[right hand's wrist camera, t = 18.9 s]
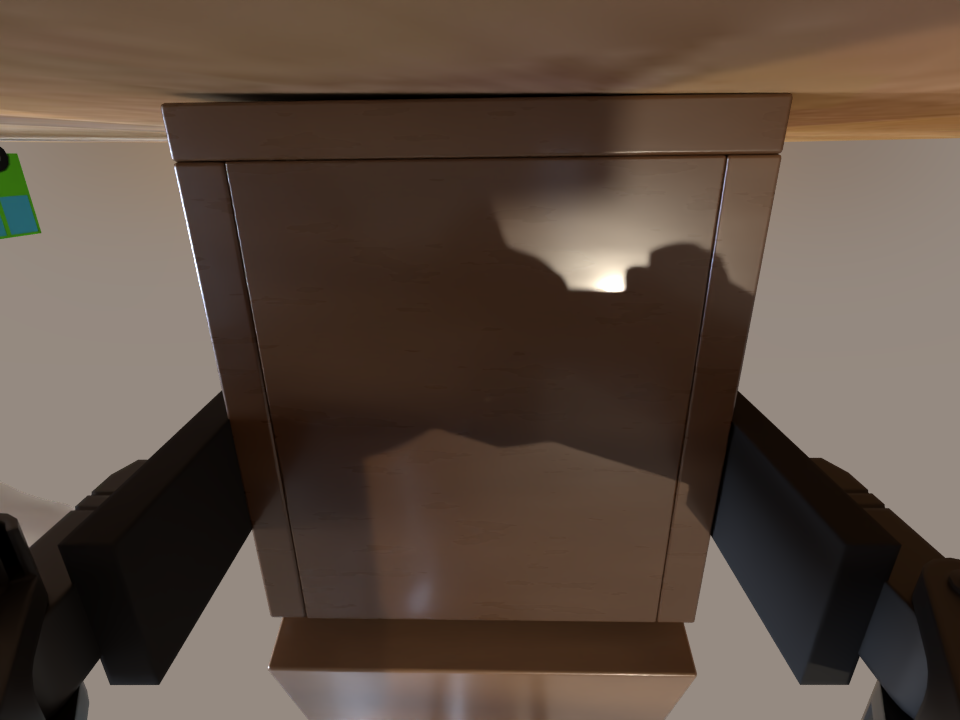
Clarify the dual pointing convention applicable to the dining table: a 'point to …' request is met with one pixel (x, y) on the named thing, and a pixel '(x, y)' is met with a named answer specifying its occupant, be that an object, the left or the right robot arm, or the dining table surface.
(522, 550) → the chest
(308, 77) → the dining table surface
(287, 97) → the dining table surface
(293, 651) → the lid
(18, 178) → the toy car
